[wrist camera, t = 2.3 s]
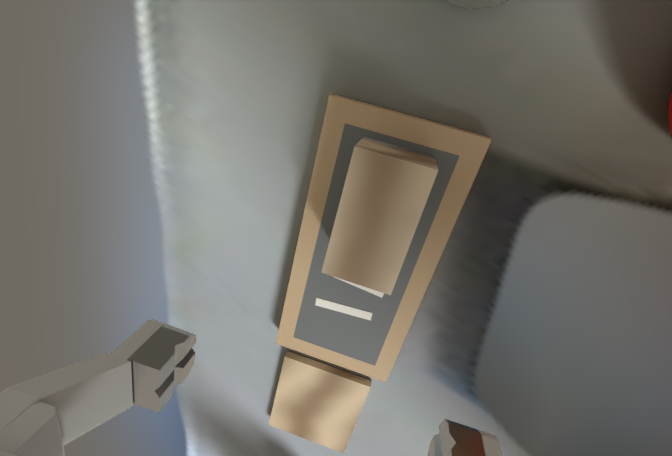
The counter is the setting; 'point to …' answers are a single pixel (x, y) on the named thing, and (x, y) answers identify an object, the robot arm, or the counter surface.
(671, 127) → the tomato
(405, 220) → the block
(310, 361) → the pad
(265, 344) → the counter surface
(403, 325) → the chalkboard
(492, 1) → the plastic bottle
